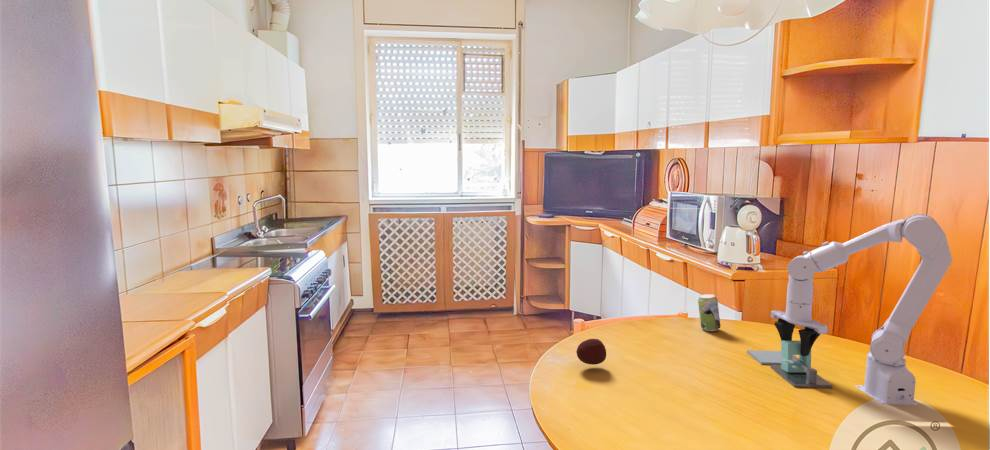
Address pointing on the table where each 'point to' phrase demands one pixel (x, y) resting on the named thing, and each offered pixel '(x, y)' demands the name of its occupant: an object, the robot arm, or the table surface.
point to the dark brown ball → (591, 351)
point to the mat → (768, 357)
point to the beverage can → (709, 312)
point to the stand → (802, 376)
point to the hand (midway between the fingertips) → (795, 351)
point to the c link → (788, 351)
